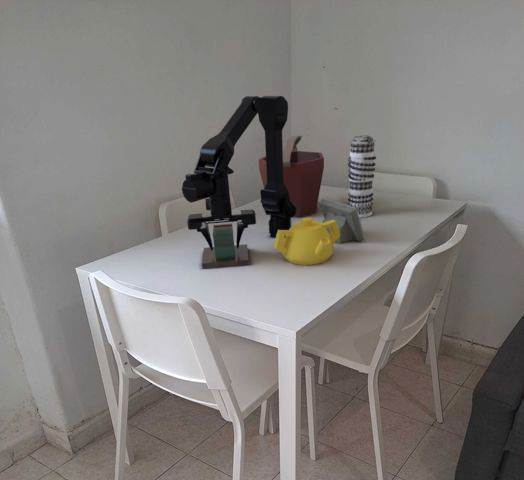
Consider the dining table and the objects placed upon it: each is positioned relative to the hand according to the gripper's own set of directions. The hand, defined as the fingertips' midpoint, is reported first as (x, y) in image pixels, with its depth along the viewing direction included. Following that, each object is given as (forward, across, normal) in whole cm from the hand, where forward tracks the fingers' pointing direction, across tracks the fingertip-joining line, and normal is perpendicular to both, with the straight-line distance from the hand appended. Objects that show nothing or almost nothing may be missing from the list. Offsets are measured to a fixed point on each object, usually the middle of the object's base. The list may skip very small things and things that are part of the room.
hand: (224, 249), depth 141 cm
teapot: (+3, -24, +6) cm, 25 cm away
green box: (+1, 0, 0) cm, 1 cm away
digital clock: (+3, -36, -10) cm, 37 cm away
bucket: (+3, -26, -42) cm, 50 cm away
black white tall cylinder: (+3, -47, -32) cm, 57 cm away
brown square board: (+3, 0, 0) cm, 3 cm away
